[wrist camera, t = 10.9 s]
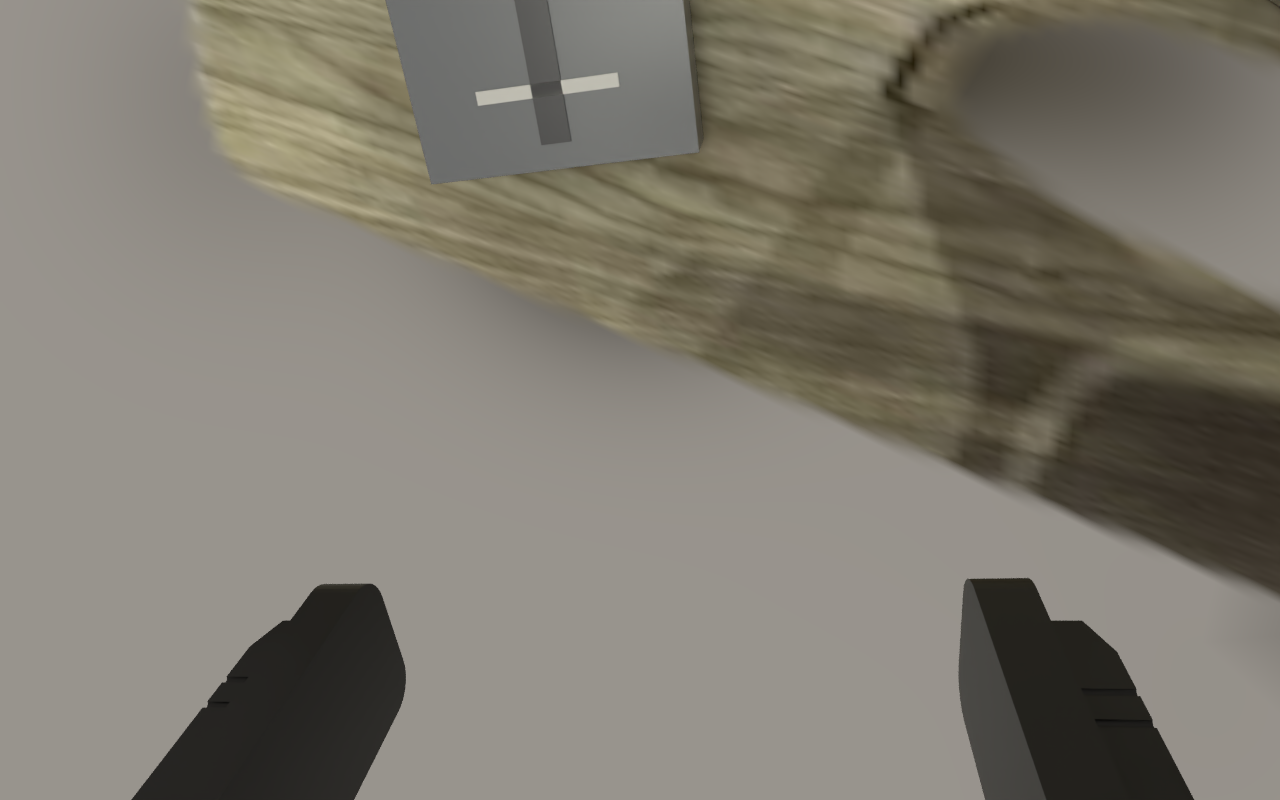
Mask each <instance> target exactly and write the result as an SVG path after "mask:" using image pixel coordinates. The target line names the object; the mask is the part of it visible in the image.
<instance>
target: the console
mask: <svg viewBox="0 0 1280 800" xmlns="http://www.w3.org/2000/svg"><path fill="white" fill-rule="evenodd" d="M386 4H387V8H388V12H389V16H390V20H391V24H392V28H393V32H394V36H395V40H396V44H397V48H398V52H399V56H400V60H401V64H402V68H403V72H404V76H405V80H406V84H407V88H408V92H409V97H410V101H411V105H412V109H413V113H414V117H415V121H416V125H417V129H418V133H419V137H420V141H421V145H422V149H423V153H424V157H425V161H426V165H427V169H428V173H429V177H430V181H431V184H439V183H447V182H455V181H464V180H472V179H480V178H489V177H497V176H505V175H514V174H522V173H530V172H539V171H547V170H555V169H564V168H572V167H580V166H589V165H597V164H605V163H614V162H622V161H631V160H639V159H647V158H656V157H664V156H672V155H681V154H689V153H697V152H699V151H700V148H701V145H702V142H703V139H704V138H703V129H702V119H701V109H700V99H699V89H698V79H697V69H696V60H695V50H694V40H693V30H692V20H691V10H690V0H386Z"/></svg>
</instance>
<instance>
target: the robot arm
mask: <svg viewBox="0 0 1280 800" xmlns="http://www.w3.org/2000/svg"><path fill="white" fill-rule="evenodd" d="M1270 1H1272V2H1273V3H1275V4H1276V5H1278V6H1279V7H1280V0H1270ZM405 684H406V672H405V665H404V661H403V658H402V655H401V652H400V649H399V646H398V643H397V640H396V637H395V634H394V631H393V628H392V625H391V622H390V619H389V616H388V613H387V610H386V607H385V604H384V601H383V598H382V595H381V593H380V591H379V590H378V588H377V587H376V586H375V585H373V584H323V585H320V586H317V587H316V588H315V589H314V590H313V591H312V592H311V593H310V595H309V596H308V597H307V599H306V600H305V602H304V603H303V604H302V606H301V607H300V608H299V610H298V611H297V612H296V614H295V615H294V616H293V618H292V619H291V620H290V621H282V622H281V623H280V624H278V625H277V626H276V627H274V628H273V629H272V630H271V631H269V632H268V633H267V634H265V635H264V636H263V637H262V638H260V639H259V640H258V641H256V642H255V643H254V644H253V645H251V646H250V647H249V649H248V650H247V651H246V652H245V654H244V655H243V656H242V658H241V659H240V660H239V661H238V663H237V664H236V665H235V667H234V668H233V669H232V670H231V672H230V673H229V674H228V676H227V681H226V683H221V685H220V686H219V687H218V689H217V690H216V691H215V692H214V694H213V695H212V696H211V698H210V699H209V700H208V706H207V708H202V709H201V711H200V712H199V713H198V714H197V716H196V717H195V718H194V720H193V721H192V722H191V723H190V725H189V726H188V727H187V729H186V730H185V731H184V733H183V734H182V735H181V736H180V738H179V739H178V741H177V742H176V743H175V744H174V745H173V747H172V748H171V749H170V751H169V752H168V753H167V755H166V756H165V757H164V758H163V760H162V761H161V762H160V764H159V765H158V766H157V768H156V769H155V770H154V771H153V773H152V774H151V775H150V777H149V778H148V779H147V780H146V782H145V783H144V784H143V786H142V787H141V788H140V789H139V791H138V792H137V793H136V795H135V796H134V797H133V799H132V800H354V799H355V797H356V795H357V793H358V791H359V789H360V787H361V785H362V782H363V781H364V779H365V777H366V775H367V773H368V771H369V769H370V767H371V765H372V763H373V761H374V759H375V757H376V755H377V753H378V751H379V749H380V747H381V745H382V743H383V741H384V739H385V737H386V735H387V733H388V731H389V729H390V727H391V725H392V723H393V721H394V719H395V717H396V715H397V713H398V711H399V709H400V707H401V704H402V701H403V697H404V692H405ZM959 690H960V700H961V706H962V712H963V717H964V721H965V725H966V729H967V733H968V736H969V740H970V744H971V748H972V752H973V755H974V759H975V763H976V767H977V770H978V774H979V778H980V782H981V785H982V789H983V793H984V796H985V800H1194V799H1193V797H1192V795H1191V793H1190V791H1189V789H1188V787H1187V785H1186V783H1185V781H1184V779H1183V778H1182V776H1181V774H1180V772H1179V770H1178V768H1177V766H1176V764H1175V762H1174V760H1173V758H1172V756H1171V754H1170V753H1169V751H1168V749H1167V747H1166V745H1165V743H1164V741H1163V739H1162V737H1161V735H1160V734H1159V731H1158V730H1157V728H1154V727H1153V723H1152V718H1151V716H1150V714H1149V712H1148V710H1147V708H1146V707H1145V705H1144V703H1143V701H1142V699H1141V697H1140V696H1137V693H1136V687H1135V685H1134V683H1133V682H1132V680H1131V678H1130V676H1129V674H1128V672H1127V670H1126V668H1125V666H1124V664H1123V662H1122V660H1121V659H1120V657H1119V655H1118V653H1117V652H1116V651H1115V650H1114V649H1113V648H1112V647H1111V646H1110V645H1109V644H1107V643H1106V642H1105V641H1104V640H1103V639H1102V638H1101V637H1100V636H1098V635H1097V634H1096V633H1095V632H1094V631H1093V630H1092V629H1091V628H1090V627H1089V626H1087V625H1086V624H1085V623H1084V622H1083V621H1051V620H1050V618H1049V616H1048V613H1047V611H1046V609H1045V607H1044V604H1043V602H1042V600H1041V597H1040V596H1039V593H1038V591H1037V588H1036V586H1035V585H1034V583H1033V582H1032V580H1030V579H1029V578H1013V579H1012V578H1011V579H1010V578H1009V579H1006V578H1005V579H967V580H966V581H965V584H964V591H963V605H962V622H961V638H960V654H959Z"/></svg>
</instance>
